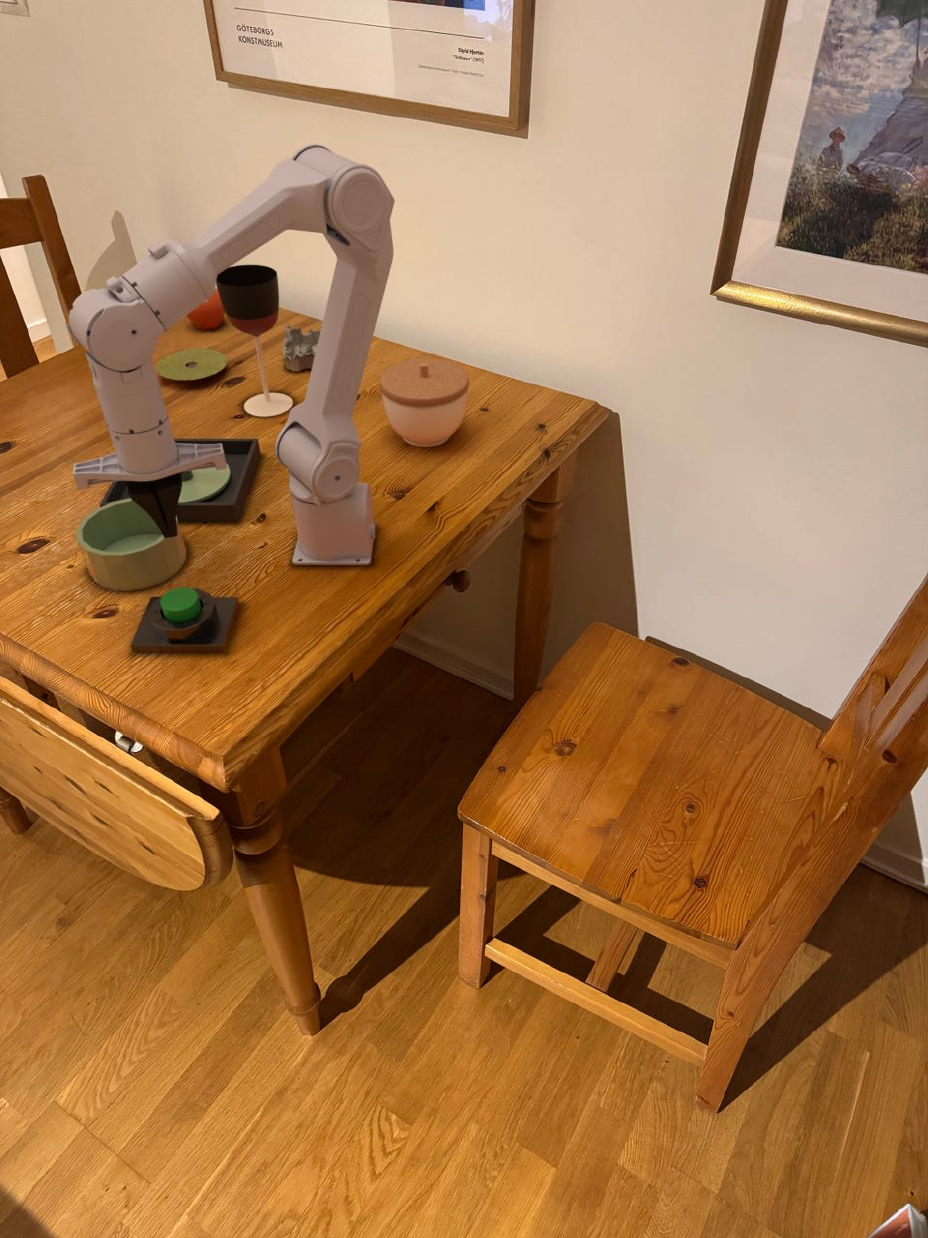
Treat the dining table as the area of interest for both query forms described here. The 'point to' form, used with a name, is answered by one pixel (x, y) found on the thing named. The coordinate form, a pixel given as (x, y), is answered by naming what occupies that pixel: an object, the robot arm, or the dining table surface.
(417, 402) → the lidded bowl
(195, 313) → the tomato
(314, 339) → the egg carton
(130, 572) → the pot
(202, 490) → the lid
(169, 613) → the button
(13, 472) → the dining table surface
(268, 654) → the dining table surface
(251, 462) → the tray
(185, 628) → the panel
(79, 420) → the dining table surface
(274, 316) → the wineglass
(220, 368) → the mat
